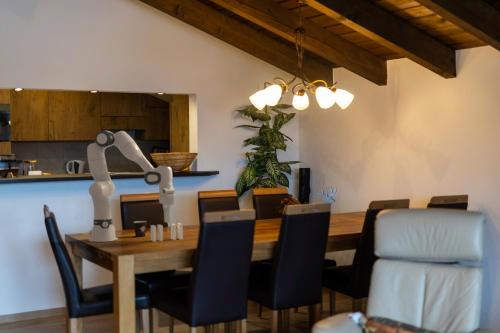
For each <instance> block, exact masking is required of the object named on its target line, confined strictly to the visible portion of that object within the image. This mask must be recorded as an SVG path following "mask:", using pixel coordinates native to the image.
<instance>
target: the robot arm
mask: <svg viewBox="0 0 500 333" xmlns="http://www.w3.org/2000/svg"><path fill="white" fill-rule="evenodd" d="M94 136H95V137H94V140H95V141H94V143H90V144H89V145H88V146H87V151H86V152H87V156H86V157H87V162H88V167H89V173H90V175H91V176H92V179H93V180H94V182H93V183H92V184H91V185H89V188H88V193H89V195H90V197H91V200H92V204H93V226H92V228H91V229H90V230H89V235H90V236H89V237H88V242H94V243H95V242H96V243H97V242H98V243H101V242H103V243H105V242H113V241H117V240H119V238H118V237H116V229H115V228H116V227H115V226H114V225H113V221H114V220H113V218H112V215H113V214H112V205H111V203H110V201H109V197H110V196H112V195H113V194H114V192H115V191H116V186H115V184H114V182H113V180H112V179H111V176H110V173H109V170H108V165H107V160H106V156H105V150H108V149H110V148H112V147H113V146H114V147H116V148H117V149H118V150H119V151H120V153H121V154H122V155H123V156H124V157H125V158H126V159H128V160H130V161H133V162H135V164H138V166H140V168H141V169H142V170H143V171H144V172H145V174H144V176H143V180H144V182H145V184H147V185H149V186H157V185H158V190H159V191H158V192H159V193H158V194H159V195H158V202H159V204H162V209H163V212H164V207H166V206H167V209H166V210H167V212H169V213H170V211H171V206H174V204H175V193H176V190H175V188H174V186H173V185H174V183H173V169H172V167H171V166H170V165H166V164H160V165H158V166H157V167H156V168H155V167H154V165H152V163H150V161H149V160H148V159H147V158H146V157H145V155H144V154H143V152H142V150H141V149H140V147H139V146H138V145H137V143H136V141H135V140H134V139H133V138H132V137H131V135H129V133H127V132H126V131H124V130H120V131H117V132H115V133H114V132H113V131H111V130H100V131H98V132H97V133H96V135H94Z"/></svg>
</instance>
